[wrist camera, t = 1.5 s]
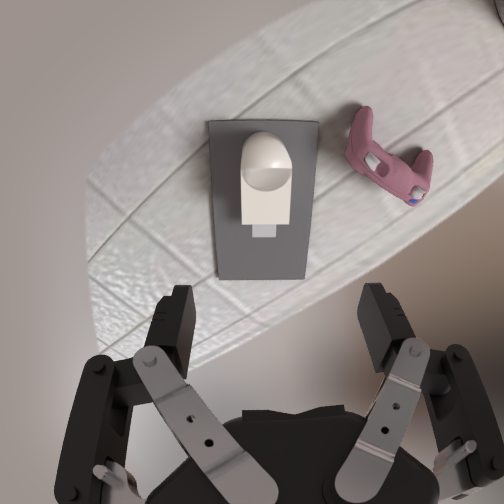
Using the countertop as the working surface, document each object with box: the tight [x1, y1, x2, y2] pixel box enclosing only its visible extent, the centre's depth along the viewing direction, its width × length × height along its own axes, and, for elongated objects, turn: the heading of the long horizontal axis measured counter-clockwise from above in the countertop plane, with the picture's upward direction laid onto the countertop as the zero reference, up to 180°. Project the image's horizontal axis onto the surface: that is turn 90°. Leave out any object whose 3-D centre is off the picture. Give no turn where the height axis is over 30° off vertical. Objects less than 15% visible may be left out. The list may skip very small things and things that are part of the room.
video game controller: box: [345, 106, 433, 206], centre depth 26 cm, size 10×5×7 cm, turn 64°
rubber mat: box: [209, 120, 319, 280], centre depth 31 cm, size 18×10×1 cm, turn 0°
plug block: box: [241, 131, 292, 237], centre depth 27 cm, size 9×4×5 cm, turn 0°
